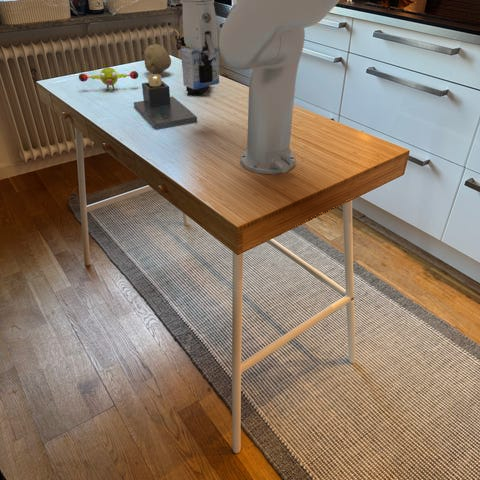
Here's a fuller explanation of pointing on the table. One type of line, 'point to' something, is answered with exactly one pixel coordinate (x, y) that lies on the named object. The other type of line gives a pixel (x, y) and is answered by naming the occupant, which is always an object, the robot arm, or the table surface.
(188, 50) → the medicine box
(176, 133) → the table surface
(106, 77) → the toy figure
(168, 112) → the grey stand
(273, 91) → the robot arm
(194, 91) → the end cap
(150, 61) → the natural sponge
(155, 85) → the pin
